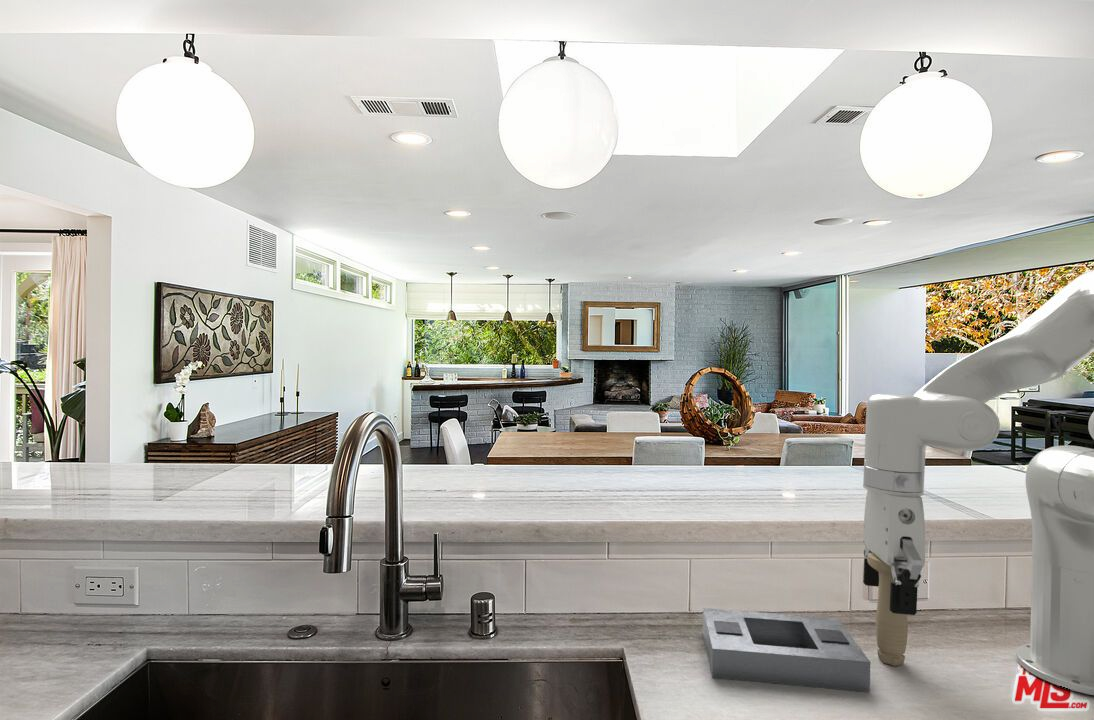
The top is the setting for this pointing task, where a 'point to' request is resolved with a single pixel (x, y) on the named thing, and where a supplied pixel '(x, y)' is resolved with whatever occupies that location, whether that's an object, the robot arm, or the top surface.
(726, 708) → the top surface
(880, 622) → the handle
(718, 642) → the block
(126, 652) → the top surface
